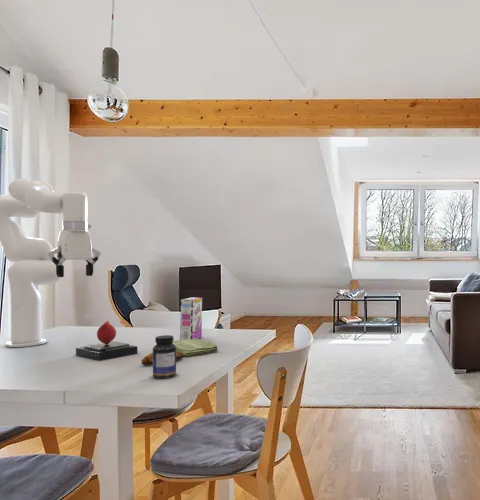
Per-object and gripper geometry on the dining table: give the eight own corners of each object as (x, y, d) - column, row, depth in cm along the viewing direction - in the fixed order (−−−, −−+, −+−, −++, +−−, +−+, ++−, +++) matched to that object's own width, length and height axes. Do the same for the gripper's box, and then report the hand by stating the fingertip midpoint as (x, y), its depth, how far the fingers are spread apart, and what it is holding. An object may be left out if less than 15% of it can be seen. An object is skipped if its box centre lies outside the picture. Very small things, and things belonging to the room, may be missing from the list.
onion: (108, 346, 159) (107, 322, 159) (92, 345, 160) (92, 322, 160) (119, 343, 164) (119, 320, 164) (105, 342, 166) (105, 319, 166)
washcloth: (184, 358, 156) (184, 348, 156) (162, 350, 169) (162, 340, 169) (220, 352, 165) (220, 342, 165) (197, 345, 178) (197, 336, 178)
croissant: (147, 368, 142) (147, 351, 142) (136, 364, 147) (136, 348, 147) (188, 360, 152) (188, 344, 152) (177, 357, 157) (177, 342, 157)
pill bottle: (156, 373, 136) (156, 334, 136) (178, 373, 136) (178, 334, 136) (149, 379, 129) (149, 338, 130) (172, 378, 130) (172, 338, 130)
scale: (75, 355, 161) (75, 346, 161) (113, 348, 172) (113, 340, 172) (99, 360, 152) (99, 351, 152) (137, 353, 163) (137, 345, 163)
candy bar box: (192, 342, 183) (192, 299, 183) (179, 342, 183) (179, 299, 183) (202, 337, 194) (202, 297, 194) (190, 337, 194) (190, 297, 194)
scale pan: (84, 347, 161) (84, 345, 161) (112, 343, 169) (113, 340, 169) (100, 351, 155) (100, 348, 155) (129, 346, 163) (129, 343, 163)
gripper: (94, 228, 175) (94, 275, 175) (42, 226, 161) (42, 277, 161) (105, 227, 171) (105, 275, 171) (53, 225, 157) (53, 277, 157)
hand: (75, 276), depth 166 cm, fingers open, 9 cm apart
